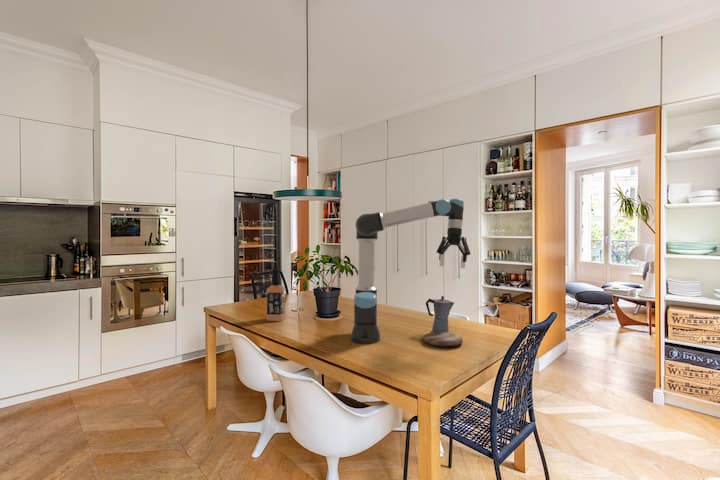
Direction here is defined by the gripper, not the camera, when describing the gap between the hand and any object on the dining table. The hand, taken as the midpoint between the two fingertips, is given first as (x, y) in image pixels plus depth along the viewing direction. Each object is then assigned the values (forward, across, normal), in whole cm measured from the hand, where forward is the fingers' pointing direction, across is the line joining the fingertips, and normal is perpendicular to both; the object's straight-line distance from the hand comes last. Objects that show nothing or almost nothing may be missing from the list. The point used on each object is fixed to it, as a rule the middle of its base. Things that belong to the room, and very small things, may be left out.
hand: (451, 267), depth 201 cm
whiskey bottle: (+43, +90, +53) cm, 113 cm away
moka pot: (+36, +6, -2) cm, 37 cm away
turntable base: (+38, -6, +11) cm, 40 cm away
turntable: (+37, -7, +12) cm, 39 cm away
